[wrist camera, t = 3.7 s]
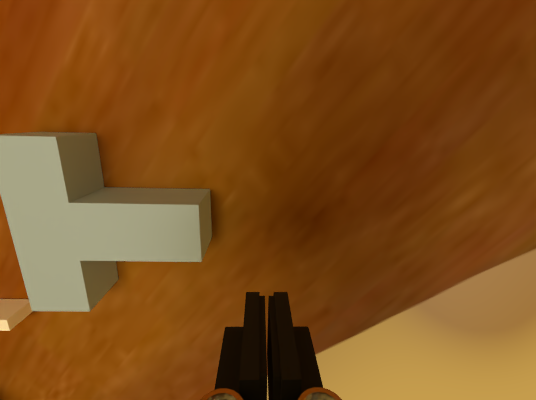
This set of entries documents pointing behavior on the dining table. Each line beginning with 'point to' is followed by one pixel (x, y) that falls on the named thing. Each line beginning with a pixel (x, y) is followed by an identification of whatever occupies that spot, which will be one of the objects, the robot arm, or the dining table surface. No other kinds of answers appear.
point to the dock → (13, 312)
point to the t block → (88, 219)
